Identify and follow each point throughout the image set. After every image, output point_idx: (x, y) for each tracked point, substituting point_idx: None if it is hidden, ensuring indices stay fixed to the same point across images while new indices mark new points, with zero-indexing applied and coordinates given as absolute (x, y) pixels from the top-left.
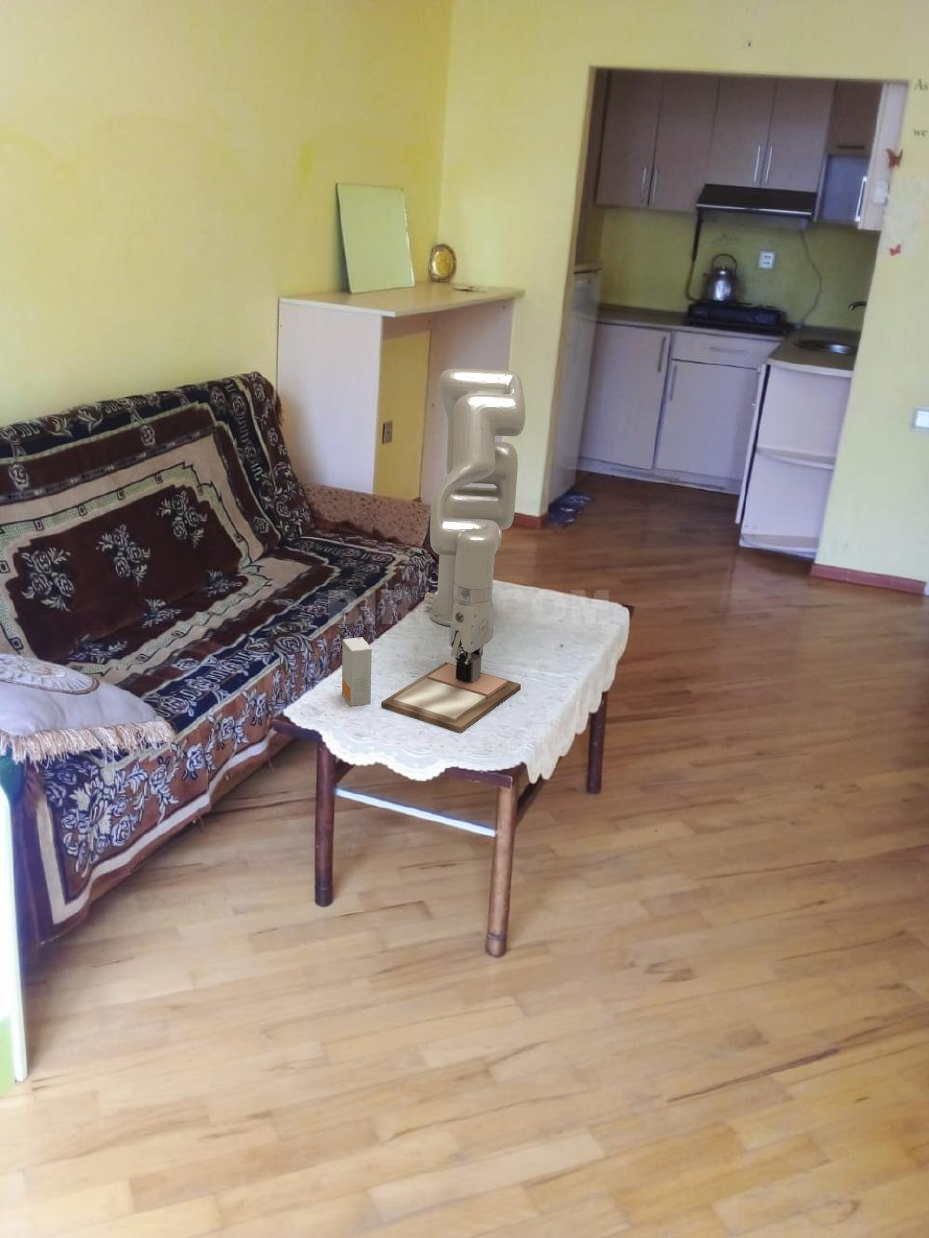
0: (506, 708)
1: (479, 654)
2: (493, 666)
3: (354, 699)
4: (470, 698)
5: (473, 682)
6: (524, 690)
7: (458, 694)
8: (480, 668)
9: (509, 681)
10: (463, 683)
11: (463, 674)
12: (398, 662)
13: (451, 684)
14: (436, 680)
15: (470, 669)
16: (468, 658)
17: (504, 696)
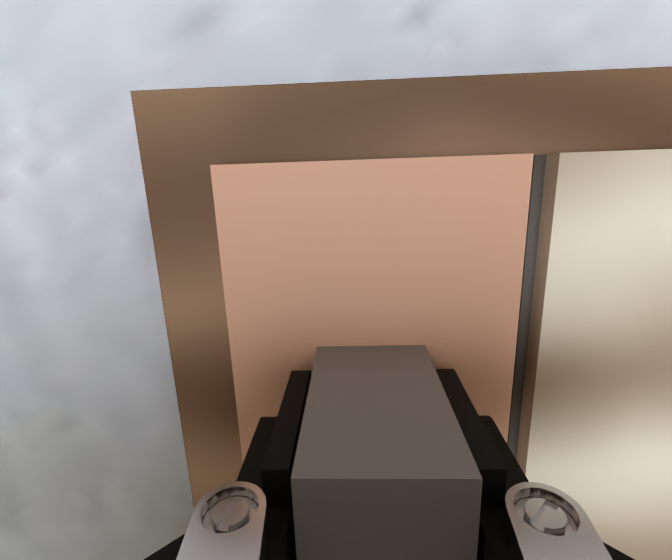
0: (481, 10)
1: (263, 515)
2: (18, 402)
3: None
4: (657, 232)
5: (412, 346)
6: (146, 67)
7: (633, 334)
8: (311, 388)
9: (157, 186)
10: None
11: (499, 438)
12: None
13: None
14: None
15: (475, 428)
16: (581, 557)
17: (393, 80)
